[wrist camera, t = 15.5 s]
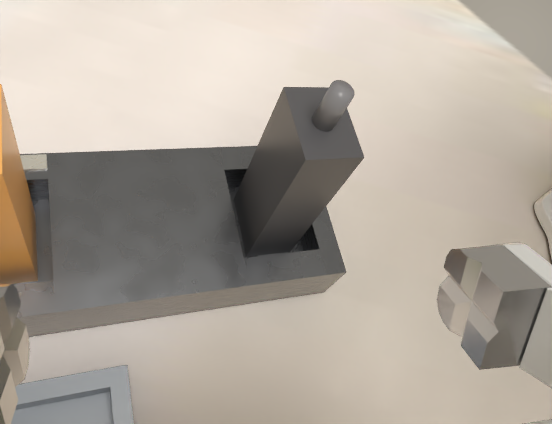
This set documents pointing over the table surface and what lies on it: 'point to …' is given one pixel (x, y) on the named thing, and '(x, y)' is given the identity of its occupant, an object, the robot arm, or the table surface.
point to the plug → (15, 210)
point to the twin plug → (297, 167)
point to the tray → (76, 399)
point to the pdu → (154, 239)
